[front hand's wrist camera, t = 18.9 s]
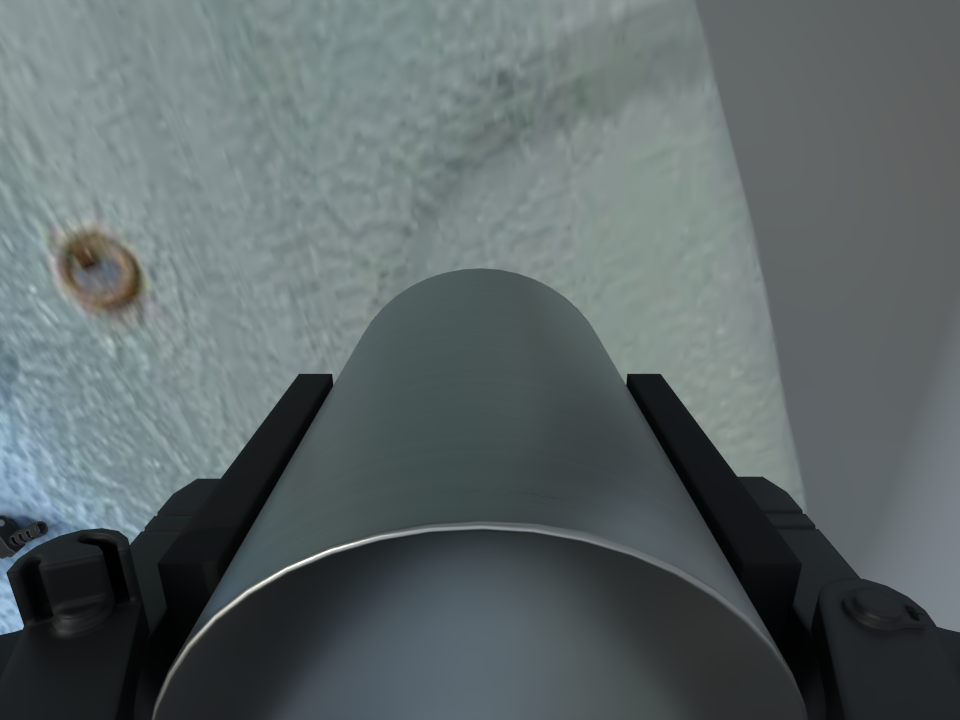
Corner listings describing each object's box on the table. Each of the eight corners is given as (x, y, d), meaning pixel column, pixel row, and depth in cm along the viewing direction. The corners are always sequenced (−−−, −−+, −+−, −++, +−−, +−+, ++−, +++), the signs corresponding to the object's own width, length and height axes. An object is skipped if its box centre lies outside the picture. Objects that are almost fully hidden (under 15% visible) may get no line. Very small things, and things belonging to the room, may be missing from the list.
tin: (581, 236, 14) (786, 444, 5) (630, 477, 17) (834, 943, 7) (312, 306, 15) (14, 616, 5) (394, 529, 17) (288, 1024, 8)
